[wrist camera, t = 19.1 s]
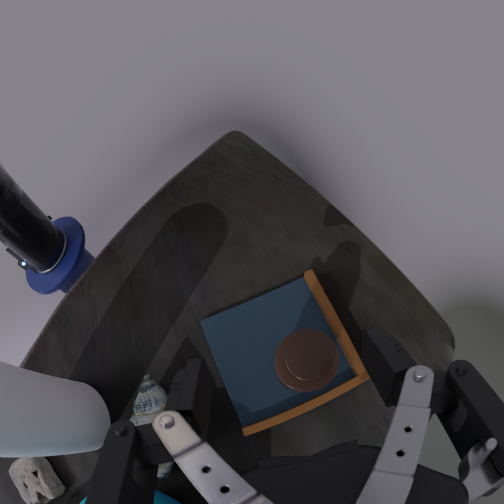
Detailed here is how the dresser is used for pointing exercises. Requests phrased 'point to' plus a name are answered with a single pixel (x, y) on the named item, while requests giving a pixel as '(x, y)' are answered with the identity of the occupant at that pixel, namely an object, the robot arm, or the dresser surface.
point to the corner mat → (264, 348)
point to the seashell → (150, 411)
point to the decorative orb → (157, 499)
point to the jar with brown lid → (306, 360)
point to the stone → (36, 480)
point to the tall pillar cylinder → (48, 415)
